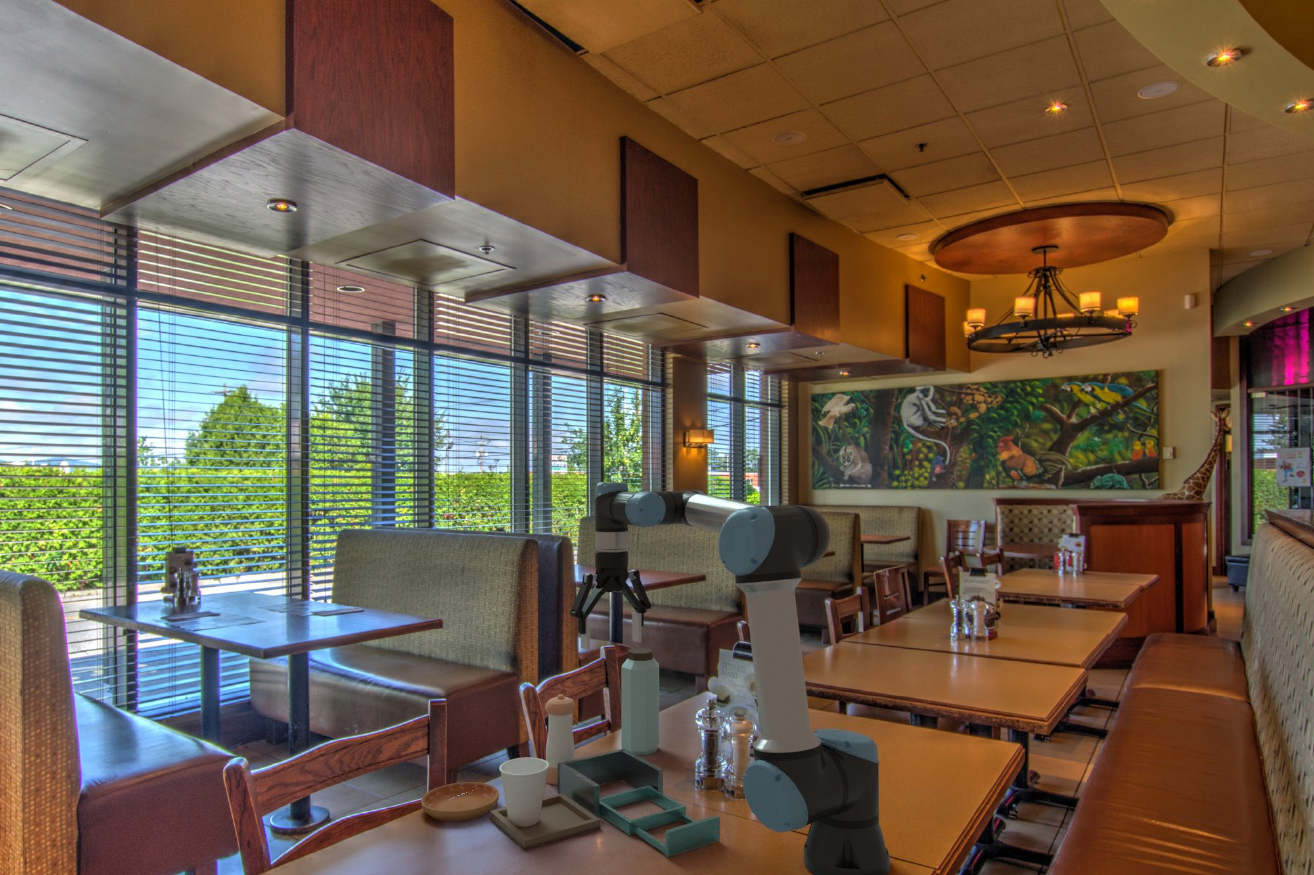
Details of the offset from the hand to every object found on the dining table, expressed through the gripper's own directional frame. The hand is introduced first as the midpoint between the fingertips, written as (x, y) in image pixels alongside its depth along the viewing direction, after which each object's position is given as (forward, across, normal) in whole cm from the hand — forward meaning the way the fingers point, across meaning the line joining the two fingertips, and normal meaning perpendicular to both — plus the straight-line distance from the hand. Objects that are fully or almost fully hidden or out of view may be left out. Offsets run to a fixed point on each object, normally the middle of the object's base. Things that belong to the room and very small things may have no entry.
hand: (611, 645), depth 183 cm
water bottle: (+32, -20, -17) cm, 41 cm away
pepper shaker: (+32, +7, -12) cm, 34 cm away
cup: (+31, +24, +6) cm, 40 cm away
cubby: (+32, +3, +4) cm, 32 cm away
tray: (+32, +21, +8) cm, 39 cm away
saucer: (+32, +32, -9) cm, 46 cm away
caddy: (+31, +3, +22) cm, 38 cm away
